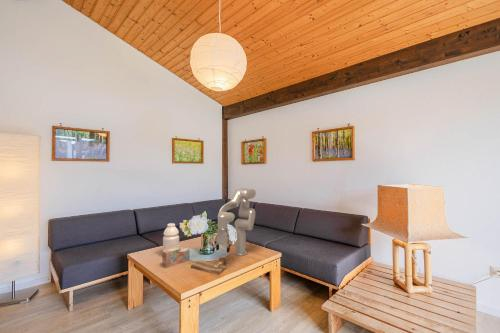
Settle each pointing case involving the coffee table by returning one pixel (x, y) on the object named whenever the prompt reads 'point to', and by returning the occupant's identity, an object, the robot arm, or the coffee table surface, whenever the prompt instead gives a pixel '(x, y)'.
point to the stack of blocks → (174, 256)
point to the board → (208, 267)
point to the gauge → (221, 262)
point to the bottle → (170, 237)
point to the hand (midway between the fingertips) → (222, 250)
